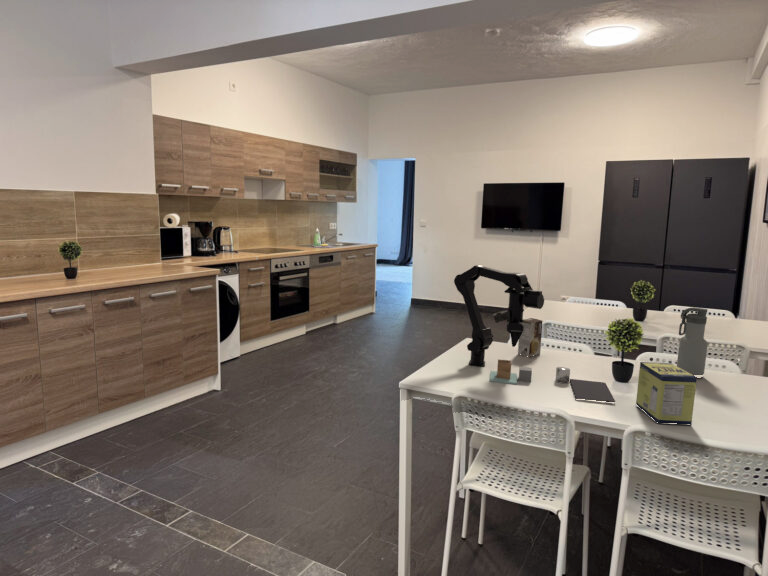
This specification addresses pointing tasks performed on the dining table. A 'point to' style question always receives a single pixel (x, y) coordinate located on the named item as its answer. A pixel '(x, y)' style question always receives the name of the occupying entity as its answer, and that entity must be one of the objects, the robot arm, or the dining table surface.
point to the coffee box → (530, 337)
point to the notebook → (591, 390)
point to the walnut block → (504, 369)
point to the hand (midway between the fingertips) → (513, 343)
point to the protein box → (666, 392)
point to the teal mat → (510, 381)
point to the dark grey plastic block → (525, 374)
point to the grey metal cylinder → (562, 374)
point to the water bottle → (693, 342)
